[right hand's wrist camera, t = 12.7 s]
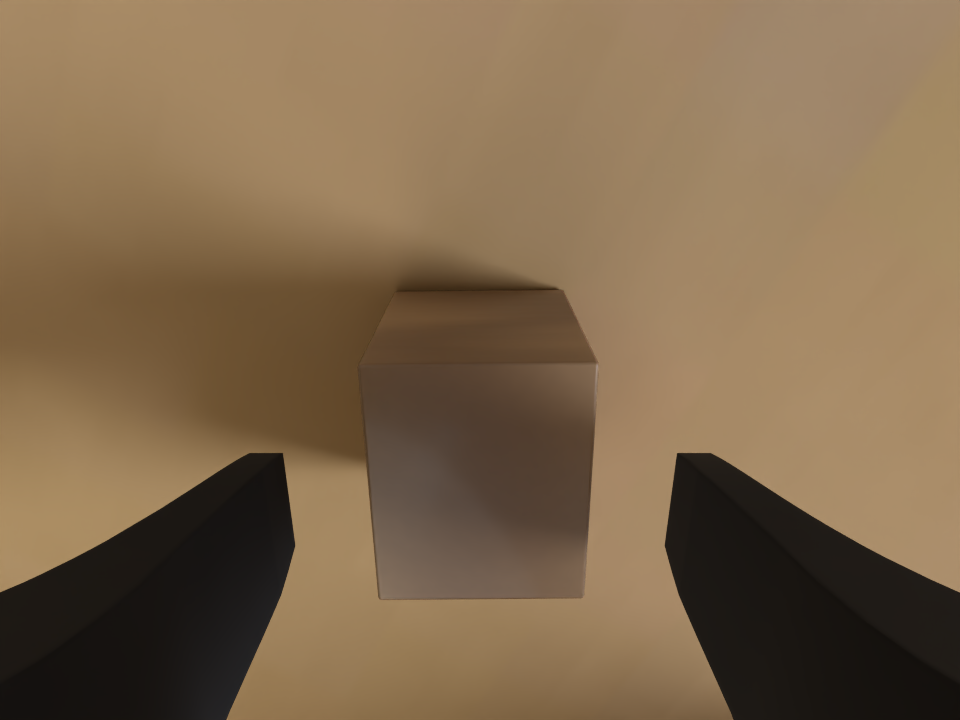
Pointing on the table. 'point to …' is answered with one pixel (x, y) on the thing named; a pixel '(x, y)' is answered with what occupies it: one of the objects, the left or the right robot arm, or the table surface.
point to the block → (479, 445)
